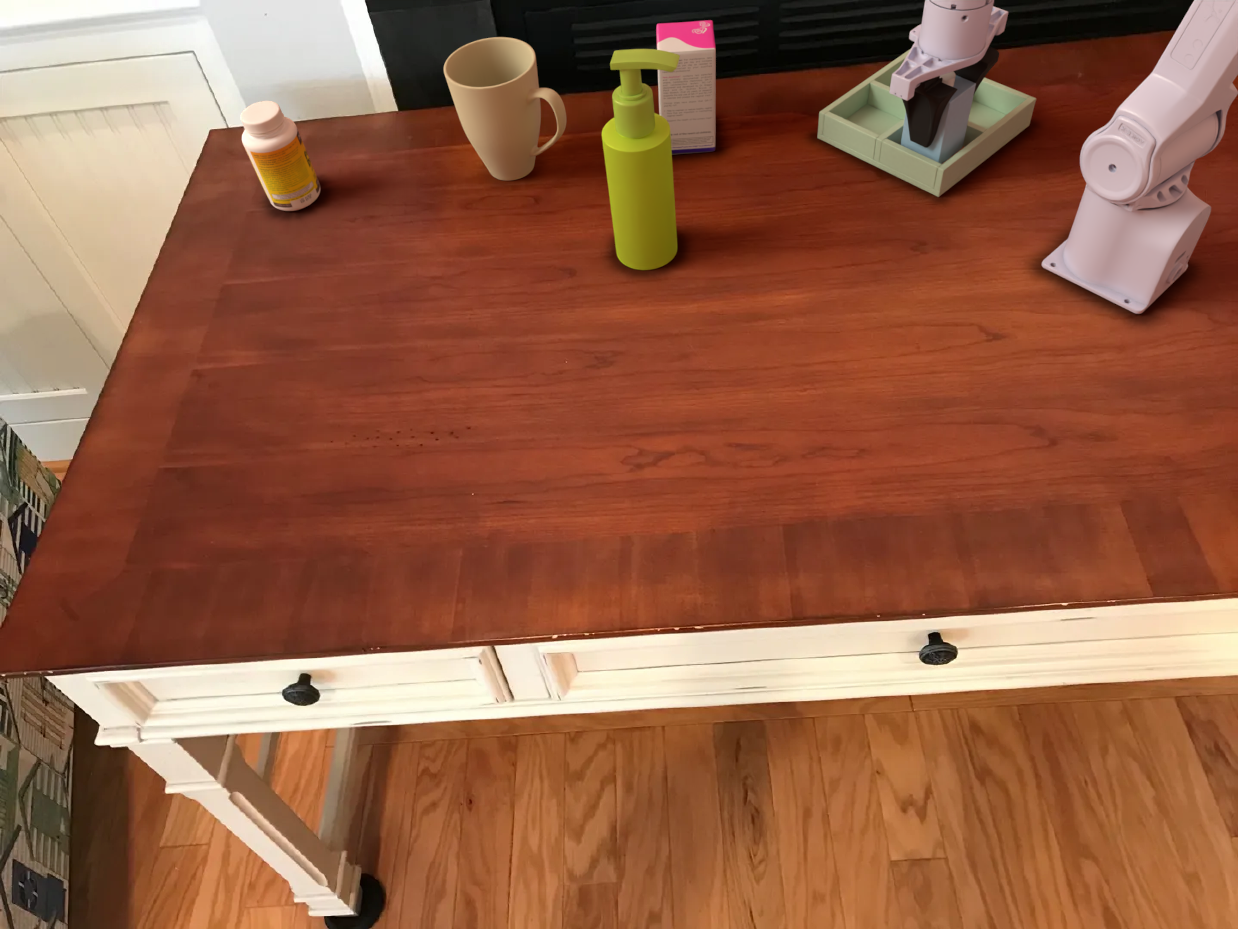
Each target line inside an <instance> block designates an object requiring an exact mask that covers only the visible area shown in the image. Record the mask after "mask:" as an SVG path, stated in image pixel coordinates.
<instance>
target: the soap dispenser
mask: <svg viewBox="0 0 1238 929" xmlns="http://www.w3.org/2000/svg"><path fill="white" fill-rule="evenodd" d="M679 57H680V55H678V54H675V53H671V52H667V51H662V50H657V49H656V48H655V49H654V48H631V49H629V48H628V49H619V50H614V51H613V54H612V57H611V59H610V63H609V66H610V68H609V69H610V70H611V71H616V70H617V71H619V77H620V78H619V79H620V85H619V86H617V87H616V88H615V89H614V91H613V92H612V95H611V99H612V100H611V101H612V108H613V117H612V118H610V120H608V121H607V122H606V123H605V125H604V126H603V127H602V130H601V141H602V149H603V150H602V151H603V157H604V166H605V172H606V181H607V188H608V197H609V198H608V199H609V205H610V213H611V220H612V221H611V222H612V228H613V237H614V244H615V245H614V246H615V254H616V257H617V259H618V260H619V262H620V263H621V264H622V265H623V266H626V267H628V268H630V269H633V270H637V271H651V270H656V269H659V268H662V267H664V266H666V265H668V264H669V263H670V262H671V261H673V259H674V258H675V256H676V255H677V254H678V232H677V218H676V217H677V215H676V201H675V198H676V197H675V185H674V183H675V182H674V167H673V155H672V150H671V133H670V125H669V123H668V121H667V120H666V119H665V118H664V117H662V116H661V115H659V113H656V112H655V104H654V92H653V89H652V88H651V86H649V85H648V84H647V83H643V82H642V71H641V70H657V71H658V70H663V71H668V72H673V71H674V70H675V69H676V68H677V65H678V61H679Z"/></svg>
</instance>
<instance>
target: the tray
mask: <svg viewBox="0 0 1238 929" xmlns="http://www.w3.org/2000/svg"><path fill="white" fill-rule="evenodd" d="M910 50H911V48H910V49H908V50H906V51H905V52H904V53H902V54H901V55H899V56H898V57H897V58H895V59H894V60H892V61H890V62H889V63H888V64H887V65H884V67H881V69H879V70H878V71H876V72H875V73H874V74H872V75H871V76H869V77H867V78H866V79H865V80H863V81H862V82H861V83H859V84H857V85H856V86H855V87H853V88H851V89H850V90H849V91H847V92H846V93H844V94H843V95H841V96H839V97H838V98H837V99H835V100H834V101H833V102H832V103H830V104H829V105H827V106H826V107H824V108H822V109H821V110H820V111H819V113H818V124H817V136H816V137H817V139H818V140H820V141H822V142H824V143H826V144H829V145H830V146H833V147H835V148H837V149H839V150H841V151H842V152H845V153H847V154H849V155H851V156H853V157H855V158H857V159H859V160H861V161H863V162H865V163H868V164H869V165H872V166H874V167H875V168H878V169H880V170H881V171H883V172H886V173H888V174H890V175H892V176H894V177H896V178H898V179H901V180H903V181H904V182H906V183H909V184H911V185H912V186H915V187H917V188H919V189H921V190H923V191H925V192H927V193H929V194H931V195H933V196H935V197H937V198H939V197H941V196H942V195H943V194H945V193H946V192H947V191H948V190H950V189H951V188H952V187H953V186H955V185H956V184H957V183H959V182H960V181H961V180H962V179H964V178H965V177H966V176H968V175H969V174H970V173H971V172H972V171H974V170H975V169H976V168H977V167H979V166H980V165H982V163H984V162H985V161H986V160H987V159H989V158H990V157H991V156H992V155H994V154H995V153H996V152H998V151H999V150H1000V149H1002V148H1003V147H1004V146H1005V145H1006V144H1008V143H1009V142H1010V141H1012V140H1013V139H1014V138H1015V137H1017V136H1018V135H1019V134H1020V133H1022V132H1023V131H1025V129H1027V128H1028V127H1030V124H1031V120H1032V116H1033V112H1034V110H1035V109H1034V108H1035V105H1036V103H1037V102H1036V101H1037V98H1036V97H1034V96H1033V95H1032V96H1031V95H1029V94H1026V93H1024V92H1022V91H1020V90H1018V89H1017V90H1016V89H1014V88H1012V87H1010V86H1007V85H1005V84H1001V83H999V82H997V81H995V80H992V79H989V78H987V77H986V76H985V77H984V79H983V80H982V82H981V83H980V85H979V87H978V88H977V90H976V92H975V94H974V96H973V100H972V105H971V109H970V114H969V119H968V124H967V128H966V133H965V138H964V143H963V147H962V149H960V150H959V151H958V152H956V153H955V154H954V155H953V156H951V157H950V158H949V159H947V160H946V161H945V162H943V163H942V164H940V163H938V162H936V161H934V160H932V159H930V158H927V157H925V156H923V155H921V154H919V153H917V152H915V151H912V150H910V149H908V148H906V147H904V146H902V145H901V139H902V133H903V126H904V119H905V113H906V110H905V106H904V103H903V100H902V98H899V97H897V96H895V95H893V94H890V93H889V92H890V85H891V77H892V73H894V72H895V71H896V70H897V69H898V68H899V67H900V66H901V65H902V63H903V62H904V60H905V58H906V56H907V55H908V53H909V51H910Z"/></svg>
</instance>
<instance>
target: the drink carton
mask: <svg viewBox="0 0 1238 929" xmlns="http://www.w3.org/2000/svg"><path fill="white" fill-rule="evenodd" d="M940 78H943V80H942V83H945V84H947V85H949V86H952V87H954V88H957V89H958V90H957V91H956V92H955V93H954V95H953V96H952V97H951V99H950V101H949V102H948V104H947V106H946V108H945V110H944V112H943V114H942V117H941V119H940V123H939V126H938V130H937V133H936V136H935V138H934V140H933V142H932V144H931V145H930V146H929V147H928V148H925V147H923V146H921V145H919V144H917V143H914V142H912V141H910V135H909V127H908V120H907V114H906V113H905V119H904V126H903V133H902V139H901V145H902V146H904V147H906V148H908V149H910V150H912V151H915V152H917V153H919V154H921V155H923V156H925V157H927V158H930V159H932V160H934V161H936V162H938V163H940V164H942V163H943V162H945V161H946V160H947V159H949V158H950V157H951V156H953V155H954V154H955V153H956V152H958V151H959V150H960V149H962V147H963V143H964V138H965V133H966V128H967V124H968V119H969V114H970V109H971V105H972V100H973V95H974V91H975V86H976V83H974V82H971V81H969V80H966V79H964V78H962V77H959V76H957V75H955V72H950V73H947V74H944V75H941V76H940Z"/></svg>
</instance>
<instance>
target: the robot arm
mask: <svg viewBox="0 0 1238 929" xmlns="http://www.w3.org/2000/svg"><path fill="white" fill-rule="evenodd" d="M994 5H995V0H924V5H923V12H922V18H921V23H920V24H919V25H917V26H915V27H914V28H912V29H911V30H910V31H909V35H908V40H909V41H911V42H914V43H913V44H912V46H911V48H910V49H911V50H910V49H909V50H910V51H909V53H908V55H907V56H906V58H905V60H904V62H903V63H902V65H901V66H900V67H899V68H898V69H897V70H896V71H895V72H894V73H892V77H891V85H890V92H889V93H890V94H893V95H895V96H897V97H899V98H902V100H903V103H904V106H905V110H906V114H907V120H908V127H909V135H910V141H912V142H914V143H917V144H919V145H921V146H923V147H925V148H928V147H929V146H930V145H931V144H932V142H933V140H934V138H935V136H936V133H937V130H938V126H939V123H940V119H941V117H942V114H943V112H944V110H945V108H946V106H947V104H948V102H949V101H950V99H951V97H952V96H953V95H954V93H955V92H956V91H957V90H958V89H957V88H954V87H952V86H949V85H947V84H945V83H942V80H943V78H940V76H941V75H944V74H947V73H950V72H955V75H957V76H959V77H962V78H964V79H966V80H969V81H971V82H974V83H976V86H975V91H974V94H975V92H976V90H977V88H978V87H979V85H980V83H981V82H982V80H983V79H984V77H985V78H986V76H987V74H988V73H989V72H991V70H992V68H993V67H994V66H995V65H996V64H997V63H998V61H999V58H1000V52H999V51H998V49H996V48H994V47H991V46H990V45H991V44H992V41H993V39H994V37H995V36H1000V35H1001V34H1002V33H1004V32H1005V29H1006V24H1007V21H1008V17H1009V16H1008V15H1009V11H1008V10H1005V9H1001V8H1000V7H996V6H994ZM1182 18H1183V19H1182V20H1181V22H1180V23H1179V25H1178V27H1177V28H1176V30H1175V32H1174V34H1173V36H1172V37H1171V39H1170V41H1169V42H1168V44H1167V45H1166V48H1165V49H1164V51H1163V53H1162V54H1161V56H1160V58H1159V59H1158V61H1157V62H1156V65H1155V66H1154V67H1153V69H1152V71H1151V72H1150V73H1149V75H1148V76H1147V77H1146V78H1145V79H1144V80H1143V81H1142V82H1141V83H1140V84H1139V85H1138V86H1137V87H1136V88H1135V90H1133V91H1132V92H1131V93H1130V94H1129V95H1128V96H1127V97H1126V99H1125V100H1124V101H1122V103H1121V104H1120V105H1119V106H1118V107H1117V108H1116V110H1115V112H1114V113H1113V115H1112V117H1111V118H1110V120H1109V121H1108V122H1107V123H1106V124H1105V125H1104V126H1102V127H1100V128H1098V129H1097V130H1095V131H1093V132H1092V133H1091V134H1090V135H1088V137H1087V138H1086V140H1084V142H1083V144H1082V146H1081V150H1080V155H1079V166H1080V172H1081V174H1082V178H1083V180H1084V181H1085V187H1084V189H1083V190H1084V191H1083V193H1082V196H1081V200H1080V202H1079V205H1078V208H1077V211H1076V213H1075V217H1074V220H1073V223H1072V226H1071V228H1070V231H1069V234H1068V237H1067V238H1066V239H1065V240H1064V241H1063V242H1062V243H1061V244H1059V246H1057V248H1055V249H1054V250H1053V251H1052V252H1051V253H1049V255H1047V256H1046V257H1045V258H1043V260H1042V261H1041V267H1042V268H1043V269H1044V270H1047V271H1049V272H1051V273H1053V274H1055V275H1057V276H1059V277H1061V278H1063V279H1064V280H1067V281H1069V282H1071V283H1073V284H1075V285H1077V286H1079V287H1081V288H1083V289H1084V290H1087V291H1089V292H1091V293H1093V294H1095V295H1097V296H1099V297H1101V298H1103V299H1105V300H1107V301H1109V302H1111V303H1113V304H1114V305H1115V304H1116V305H1117V306H1119V307H1121V308H1123V309H1125V310H1127V311H1129V312H1131V313H1133V314H1136V315H1140V314H1143V313H1144V312H1145V311H1146V310H1147V309H1148V308H1149V307H1150V306H1151V305H1152V304H1153V303H1154V302H1156V300H1157V299H1158V298H1159V297H1160V296H1161V295H1162V294H1163V293H1164V292H1165V291H1166V290H1168V288H1169V287H1171V286H1172V285H1173V283H1175V282H1176V281H1177V280H1178V279H1179V278H1180V277H1181V276H1182V275H1183V274H1184V273H1185V272H1186V271H1187V269H1188V267H1189V264H1188V262H1189V260H1190V258H1191V257H1192V254H1193V252H1194V250H1195V248H1196V247H1197V244H1198V242H1199V239H1200V238H1201V235H1202V233H1203V231H1204V229H1205V227H1206V225H1207V222H1208V221H1209V218H1210V215H1211V213H1212V206H1211V205H1210V204H1209V203H1207V202H1205V201H1203V200H1202V199H1201V198H1200V197H1198V196H1197V195H1195V194H1194V193H1193V191H1191V189H1190V188H1189V187H1188V185H1189V181H1190V177H1191V172H1192V169H1193V167H1194V165H1195V163H1196V160H1197V159H1200V158H1203V157H1204V156H1205V157H1206V155H1208V154H1209V153H1211V152H1213V150H1215V149H1216V148H1217V146H1218V145H1219V144H1220V142H1221V141H1222V139H1223V137H1224V134H1225V131H1226V123H1227V116H1228V112H1229V110H1230V107H1231V105H1232V104H1233V102H1234V101H1235V99H1236V98H1237V96H1238V89H1237V87H1236V86H1235V84H1234V83H1233V82H1234V81H1235V80H1236V78H1237V76H1238V0H1193V1H1192V2H1191V5H1190V6H1189V7H1188V10H1187V12H1186V13H1185V15H1184V17H1182ZM973 96H974V95H973Z"/></svg>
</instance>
